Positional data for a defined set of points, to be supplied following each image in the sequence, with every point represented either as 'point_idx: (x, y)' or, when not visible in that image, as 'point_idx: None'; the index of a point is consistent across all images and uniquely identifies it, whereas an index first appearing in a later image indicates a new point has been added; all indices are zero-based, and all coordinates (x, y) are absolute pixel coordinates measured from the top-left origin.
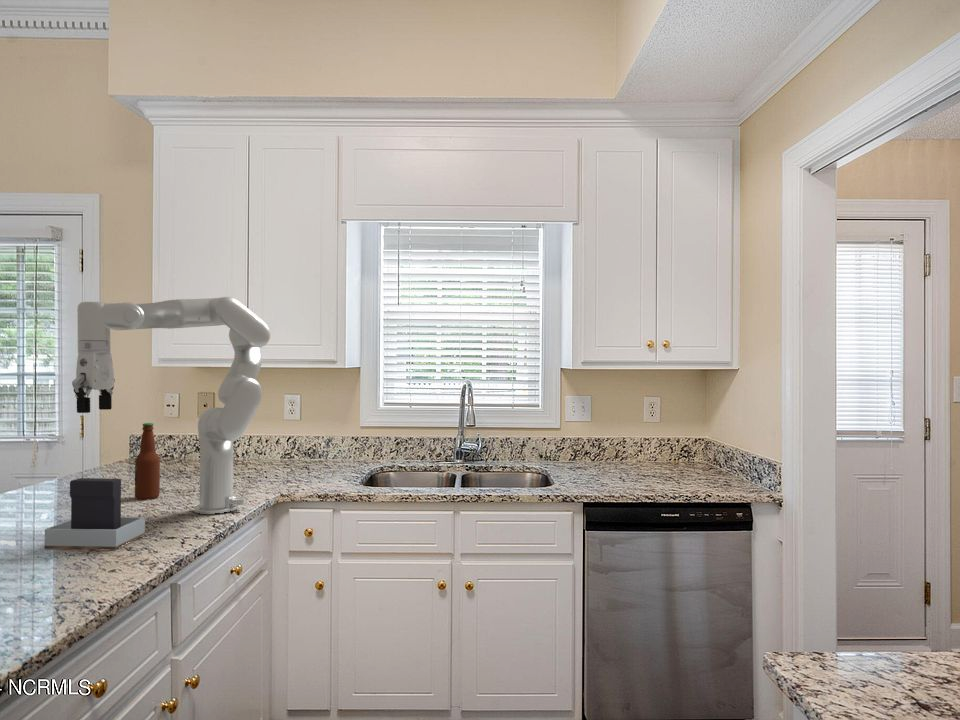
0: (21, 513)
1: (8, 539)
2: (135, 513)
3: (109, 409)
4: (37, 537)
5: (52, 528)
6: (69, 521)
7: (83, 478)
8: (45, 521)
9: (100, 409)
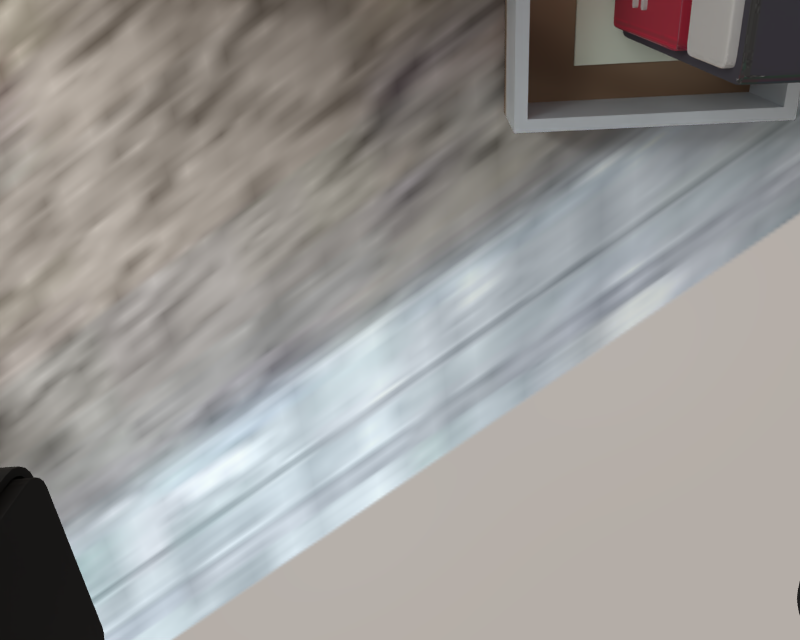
0: (206, 571)
1: (587, 357)
2: (62, 100)
3: (30, 474)
4: (556, 267)
5: (752, 107)
6: (614, 114)
7: (765, 33)
8: (302, 411)
9: (91, 621)
